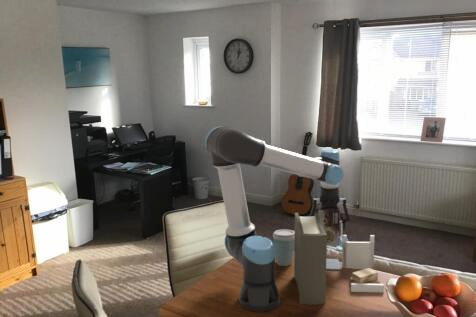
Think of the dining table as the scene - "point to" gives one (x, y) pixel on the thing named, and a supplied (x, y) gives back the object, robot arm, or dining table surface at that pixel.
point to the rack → (360, 262)
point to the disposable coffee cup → (284, 246)
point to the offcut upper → (365, 275)
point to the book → (310, 259)
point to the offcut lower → (366, 282)
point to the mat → (333, 264)
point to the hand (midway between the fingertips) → (329, 236)
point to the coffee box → (331, 224)
